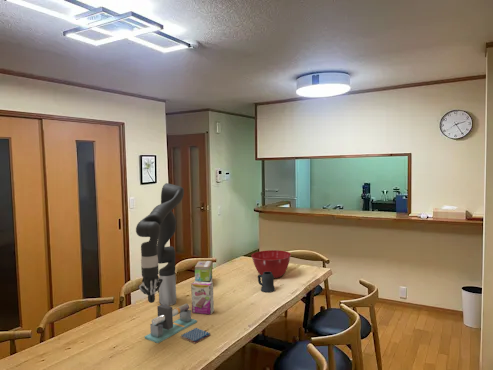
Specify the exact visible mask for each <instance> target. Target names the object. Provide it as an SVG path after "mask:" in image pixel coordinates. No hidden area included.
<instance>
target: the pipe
mask: <svg viewBox="0 0 493 370" xmlns="http://www.w3.org/2000/svg"><path fill="white" fill-rule="evenodd" d="M172 314H173V317H175V316H178V315H179V319H180V321H182V322H186V323H188V322H190V321H191V319H192V309H190V305H189V304H188V303H184V304H182V305H179V306H177V307H176V308H172ZM163 321H165V315H160V316H158V315H157V316H156V317H154V318H152V319H151V323H150V326H149V327H150V333H151V336H153V337H156V338H160V337H162V336H163V324H160V323H161V322H163Z"/></svg>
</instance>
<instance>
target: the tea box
mask: <svg viewBox="0 0 493 370" xmlns="http://www.w3.org/2000/svg"><path fill="white" fill-rule="evenodd" d="M194 281H199V282H212V283H213V261H212V260H202V261H201V260H198V261H197V263H196V264H195V266H194Z"/></svg>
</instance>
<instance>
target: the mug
mask: <svg viewBox="0 0 493 370" xmlns="http://www.w3.org/2000/svg"><path fill="white" fill-rule="evenodd" d="M274 281H275V278H274V276H273V274H272V272H268V271H267V272H263V275H260V274H258V275H257V282H258V284H259V285H260V286H261V287H260V291H261V292H262V293H269V294H270V293H273V292H275V291H276V287H275V284H274V283H275V282H274Z"/></svg>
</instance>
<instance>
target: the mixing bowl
mask: <svg viewBox="0 0 493 370" xmlns="http://www.w3.org/2000/svg"><path fill="white" fill-rule="evenodd" d="M250 255H251V259H252V261H253V264H254V267H255V268H256V271H257V273H258V275H263V272H267V271H268V272H272V274H273V276H274V279H278V278H281V277H282V276H283V275H284V274H285V273H286V271H287V269H288V267H289V264H290V261H291V260H290V259H291V256H292V253H291V252H289V251H285V250H279V249H278V250H277V249H276V250H275V249H271V250H270V249H269V250H261V251H256V252H254V253H252V254H250Z"/></svg>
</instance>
